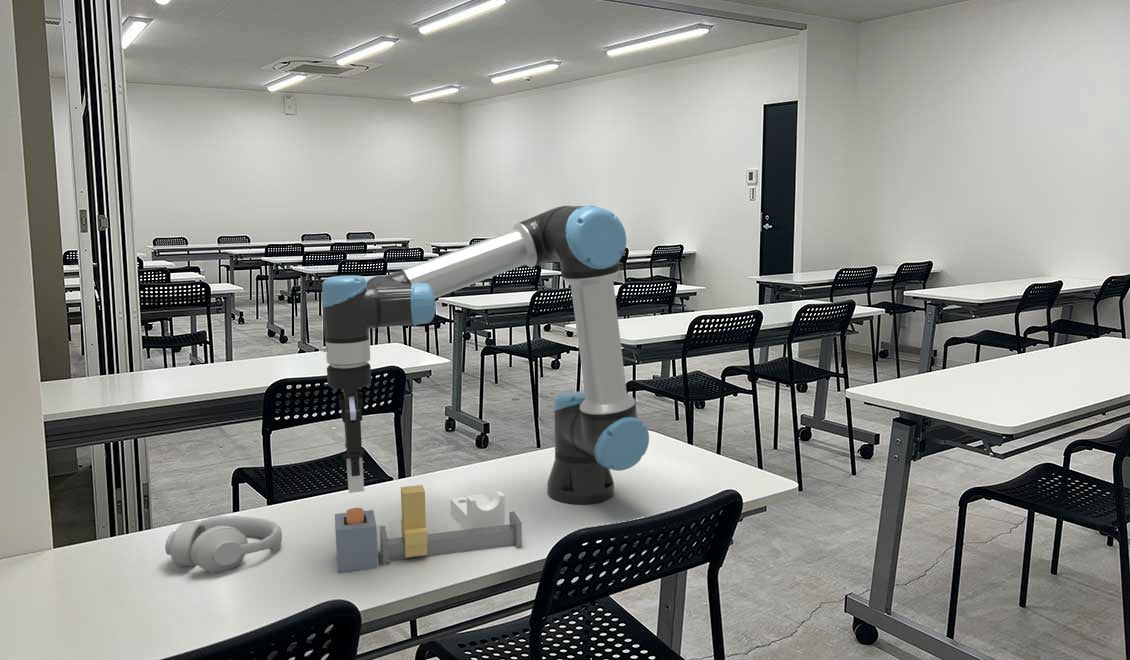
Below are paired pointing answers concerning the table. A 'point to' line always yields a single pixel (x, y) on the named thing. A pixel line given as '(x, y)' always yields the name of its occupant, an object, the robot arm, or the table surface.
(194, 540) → the headphones
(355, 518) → the plunger
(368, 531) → the housing
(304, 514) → the table surface
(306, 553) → the table surface
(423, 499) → the carriage
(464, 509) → the bracket
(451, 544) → the rail
